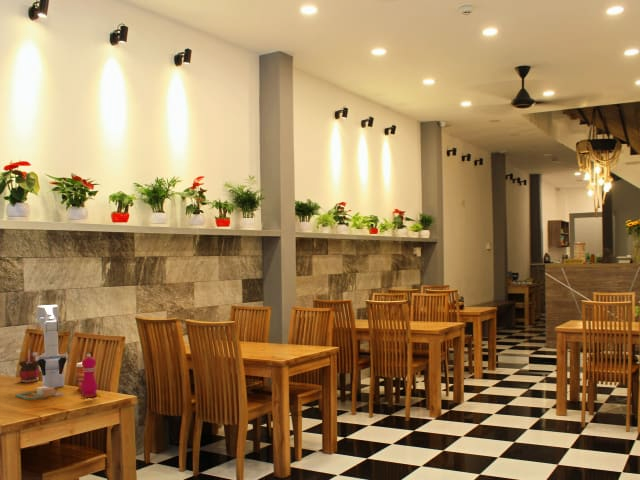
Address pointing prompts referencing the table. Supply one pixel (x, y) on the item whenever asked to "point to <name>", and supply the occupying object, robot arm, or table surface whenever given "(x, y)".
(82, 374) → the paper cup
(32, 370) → the cake
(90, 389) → the pepper mill
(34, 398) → the box
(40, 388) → the tile cream
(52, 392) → the terracotta block
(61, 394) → the plate
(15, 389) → the table surface
